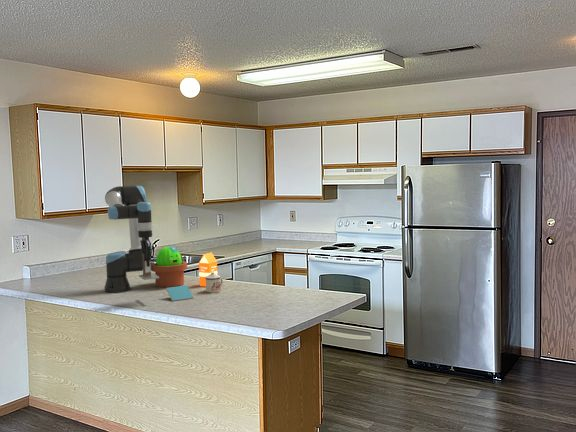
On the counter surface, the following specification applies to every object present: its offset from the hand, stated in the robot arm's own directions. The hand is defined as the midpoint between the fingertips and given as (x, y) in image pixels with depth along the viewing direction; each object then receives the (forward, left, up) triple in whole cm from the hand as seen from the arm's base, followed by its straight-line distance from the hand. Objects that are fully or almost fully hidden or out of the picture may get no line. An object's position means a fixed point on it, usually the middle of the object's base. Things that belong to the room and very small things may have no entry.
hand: (147, 271), depth 307 cm
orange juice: (-19, +44, -17) cm, 51 cm away
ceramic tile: (+8, +16, -14) cm, 22 cm away
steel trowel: (+4, 0, -3) cm, 5 cm away
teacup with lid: (+1, +40, -17) cm, 43 cm away
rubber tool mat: (+6, -1, -16) cm, 18 cm away
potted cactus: (-35, +24, -17) cm, 45 cm away
